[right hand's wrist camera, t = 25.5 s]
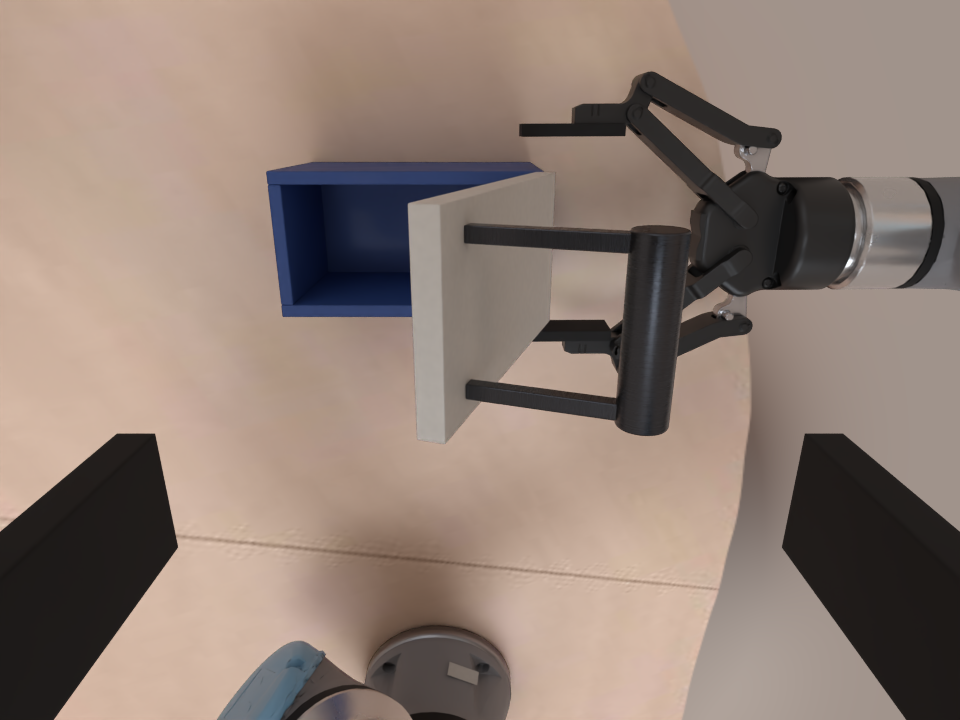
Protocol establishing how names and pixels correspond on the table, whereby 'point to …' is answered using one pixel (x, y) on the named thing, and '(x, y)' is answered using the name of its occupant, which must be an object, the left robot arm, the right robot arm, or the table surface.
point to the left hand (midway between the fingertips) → (518, 236)
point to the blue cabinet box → (358, 230)
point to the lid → (531, 305)
